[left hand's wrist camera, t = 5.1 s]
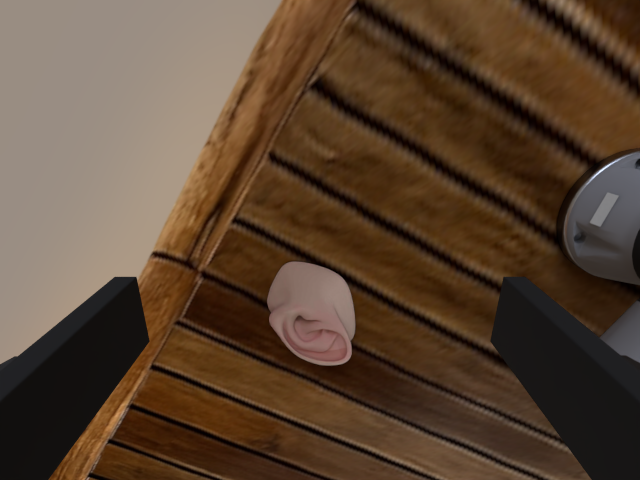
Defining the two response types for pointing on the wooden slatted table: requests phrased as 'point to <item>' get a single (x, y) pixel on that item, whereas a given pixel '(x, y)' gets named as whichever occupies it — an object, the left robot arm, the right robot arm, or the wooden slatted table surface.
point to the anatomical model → (312, 313)
